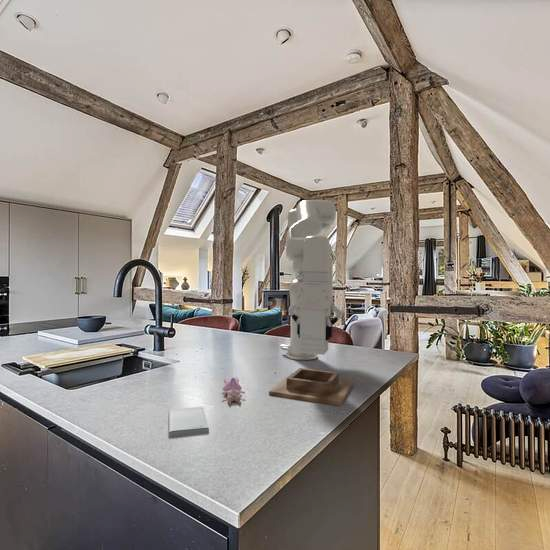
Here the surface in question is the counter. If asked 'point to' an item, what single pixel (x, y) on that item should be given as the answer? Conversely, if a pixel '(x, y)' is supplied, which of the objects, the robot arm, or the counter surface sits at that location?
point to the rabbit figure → (232, 389)
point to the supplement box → (313, 332)
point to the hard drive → (187, 421)
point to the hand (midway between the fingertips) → (314, 338)
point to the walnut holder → (313, 386)
